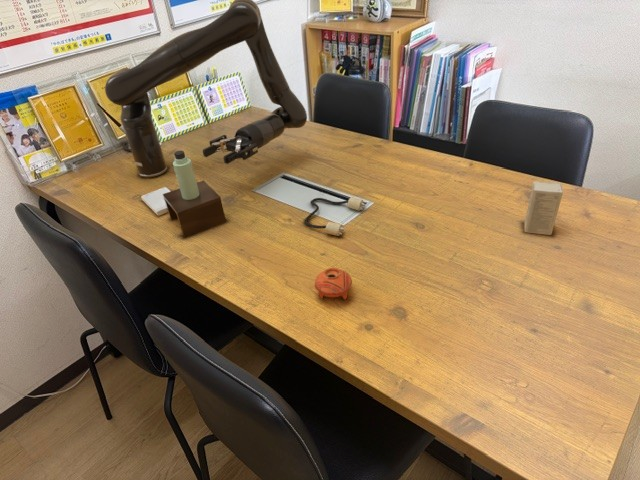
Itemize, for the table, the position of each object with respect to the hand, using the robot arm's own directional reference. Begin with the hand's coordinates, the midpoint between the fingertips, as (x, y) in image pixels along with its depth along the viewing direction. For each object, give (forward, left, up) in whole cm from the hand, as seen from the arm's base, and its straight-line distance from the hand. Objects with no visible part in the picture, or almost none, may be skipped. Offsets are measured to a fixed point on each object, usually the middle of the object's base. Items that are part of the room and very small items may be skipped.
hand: (214, 157), depth 122 cm
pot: (+51, +3, -15) cm, 54 cm away
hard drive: (-13, -15, -15) cm, 25 cm away
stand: (+3, -10, -15) cm, 18 cm away
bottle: (+3, -10, -7) cm, 12 cm away
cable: (+26, +19, -15) cm, 36 cm away
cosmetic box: (+63, +56, -15) cm, 86 cm away
